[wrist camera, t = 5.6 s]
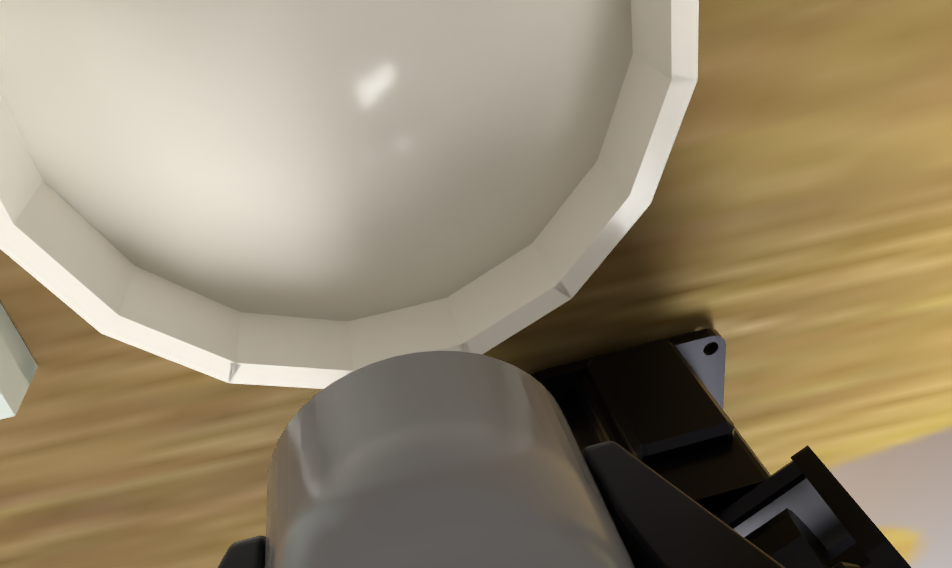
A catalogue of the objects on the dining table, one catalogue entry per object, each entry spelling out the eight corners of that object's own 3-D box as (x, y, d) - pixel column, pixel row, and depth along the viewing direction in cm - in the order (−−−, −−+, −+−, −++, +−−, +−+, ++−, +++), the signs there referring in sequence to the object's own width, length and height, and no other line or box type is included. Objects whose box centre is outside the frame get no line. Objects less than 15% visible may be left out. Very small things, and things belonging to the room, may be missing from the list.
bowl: (648, 250, 22) (694, 305, 20) (130, 376, 21) (108, 452, 18) (631, -436, 14) (705, -492, 12) (-222, -313, 13) (-347, -346, 10)
